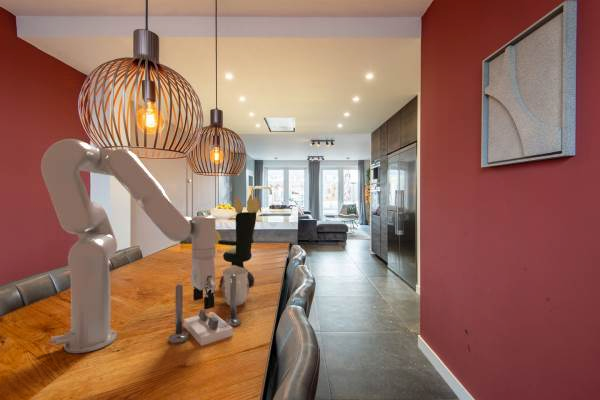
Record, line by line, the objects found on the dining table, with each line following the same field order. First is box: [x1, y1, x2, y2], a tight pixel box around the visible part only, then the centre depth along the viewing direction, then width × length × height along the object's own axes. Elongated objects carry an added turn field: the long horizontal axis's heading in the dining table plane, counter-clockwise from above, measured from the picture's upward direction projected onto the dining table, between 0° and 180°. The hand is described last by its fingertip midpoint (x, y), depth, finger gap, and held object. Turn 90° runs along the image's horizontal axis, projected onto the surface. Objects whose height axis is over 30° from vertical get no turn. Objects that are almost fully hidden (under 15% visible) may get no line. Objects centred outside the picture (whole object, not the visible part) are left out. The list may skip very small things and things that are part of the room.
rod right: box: [224, 274, 242, 328], centre depth 100 cm, size 6×6×17 cm
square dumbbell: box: [198, 308, 218, 329], centre depth 95 cm, size 2×12×2 cm, turn 39°
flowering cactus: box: [215, 193, 260, 287], centre depth 143 cm, size 19×22×45 cm
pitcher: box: [221, 264, 250, 307], centre depth 118 cm, size 11×18×14 cm, turn 21°
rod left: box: [168, 283, 190, 345], centre depth 89 cm, size 6×6×17 cm
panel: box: [183, 311, 234, 347], centre depth 95 cm, size 10×16×3 cm, turn 39°
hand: (203, 303), depth 97 cm, fingers open, 9 cm apart
